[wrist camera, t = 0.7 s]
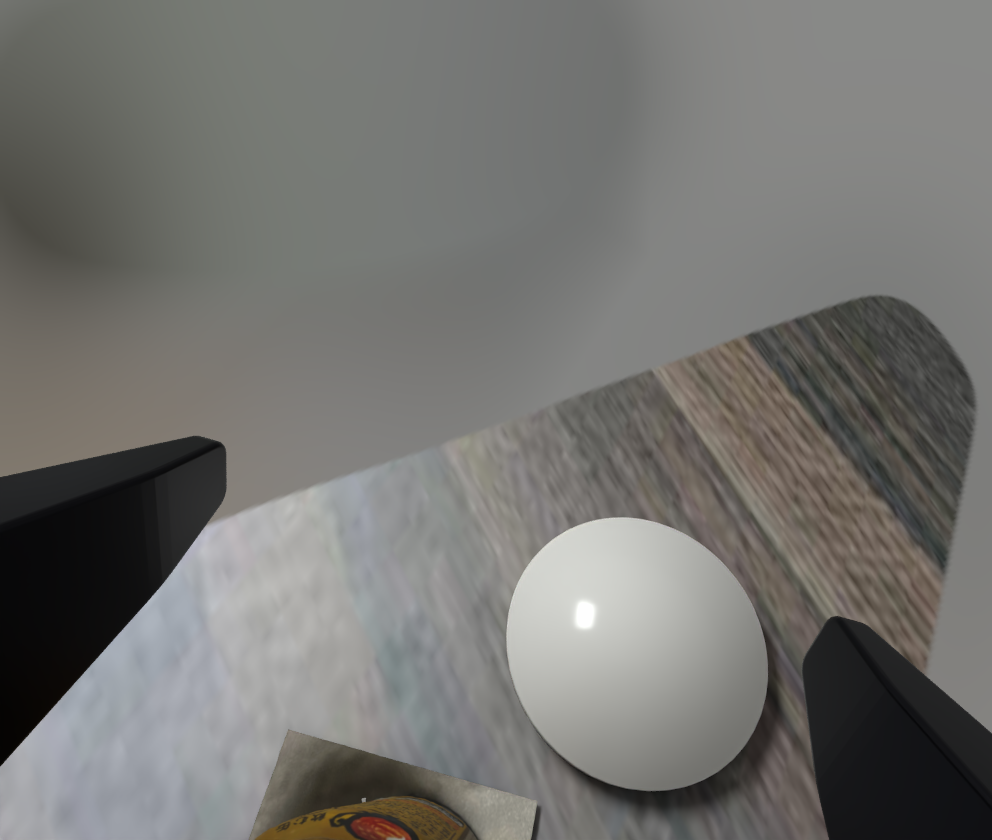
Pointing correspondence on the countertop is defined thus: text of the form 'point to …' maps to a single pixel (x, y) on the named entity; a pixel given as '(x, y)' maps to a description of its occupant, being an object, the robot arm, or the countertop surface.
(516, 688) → the coaster
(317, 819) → the condiment
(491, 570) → the countertop surface
